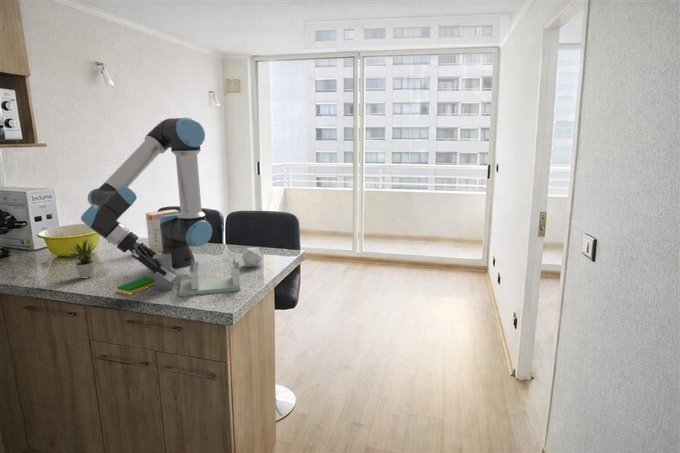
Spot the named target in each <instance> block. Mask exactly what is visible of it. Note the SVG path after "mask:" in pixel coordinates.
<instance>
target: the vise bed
mask: <svg viewBox="0 0 680 453" xmlns="http://www.w3.org/2000/svg"><path fill="white" fill-rule="evenodd" d="M233 257H234V258H233V259H231V260H230V264H231V265H230V267H231V275H227V276H219V277H207V278H200V282H199V289H193V290H192V288H191V279H185V280H181V281H180V286H179V291H178V297H187V296H186V295H189V296H197V295H196V294H199V295H205V294H206V295H207V294H208V293H209V294H216V293H218V294H219V293H226V292H237V291H241V283H240V282H241V280H240V279H241V278H240V265H239V263H240V262H239V258H238V253H233Z"/></svg>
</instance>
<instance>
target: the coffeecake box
mask: <svg viewBox="0 0 680 453" xmlns="http://www.w3.org/2000/svg"><path fill="white" fill-rule="evenodd" d="M177 213H180V210H177V209H166V210H158V211H152V212H146V213H145V221H146V230H147V237H148V248H149V249H151V250H152V251H153V252H155V253H157V252H162V240H161V230H160V218H161V217H162V216H165V215H170V214H177Z"/></svg>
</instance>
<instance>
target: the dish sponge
mask: <svg viewBox="0 0 680 453" xmlns="http://www.w3.org/2000/svg"><path fill="white" fill-rule="evenodd" d="M152 285H154V286H155V281H154V277H149V276H145V277H141V278H139V279H135V280H133V281H131V282H128V283H124V284H122V285H119V286H117V287H116V288H117V289H116V291H117V292H118V291H121V292H126V293H133V292H136V291H138V290H141V289H144V288H146V287H149V286H151V287H153V286H152ZM149 288H150V287H149ZM146 289H147V288H146ZM144 290H145V289H144ZM141 291H142V290H141ZM136 293H137V292H136Z"/></svg>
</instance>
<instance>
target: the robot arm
mask: <svg viewBox="0 0 680 453" xmlns="http://www.w3.org/2000/svg"><path fill="white" fill-rule="evenodd" d="M205 140H206V131H205V130H204V127H203V125H202V124H201V123H200V122H199V121H198V120H196V119H195V118H191V117H176V118H167V119H164V120H161V121H160V122H159V123H158V124H157V125H156V126H154V127H153V128H152V129H151V130H150V131H149V132H148V133H147V134H146V135H145V136H144V141H143V142H142V143H141V144H140V145H139V146H138V148H136V149H135V150H134V152H133V153H132V154H130V156H129V157H128V158H127V159H125V161H124V162H122V164H121V165H120V166H119V167H118V168H117V169H116V170H115V171H114V172H113V173H112V174H111V175H110V176H109V177H108V179H106V180H105V181H104V183H103V184H101V185H100V186H99V187H98V188H94V189H92V190H90V191H89V193H88V195H87V201H88V204H89V205H90V207H88V208H87V209H86V210H85V212H84V213H83V214H82V215H81V217H80V221H81V222H82V223H83V224H84V225H86V226H87V227H88V228H90V229H91V230H93V231H94V232H95V233H97V234H99V236H101V237H102V238H104V239H105V240H107V243H109V244H110V243H111V245H113V246H116V248H117V249H119V250H120V251H121V252H123V253H126V252H127V251H130V252H131V257H132V258H134V259H135V260H137V261H139V262H140V263H141V264H142V265H144V266H145V267H146V268H147V269H149V270H150V271H151V272H153V274H154V273H156V272H157V273H159V274H160V275H161V276H163V277H164V278H165V279H167V280H168V281H170V282H171V281H172V280H173V281H174V279H176V277H177V276H176V274H177V272H178V271H177V270H176V269H178V268H183V267H184V268H185V267H188V266H189V267H190V265H191V260H192V259H195V256H194V254H193V252H192V249H191V247H194V248H195V247H197V248H198V247H203V246H205V245H206V244H207V243H208V242H209V241H210V240H211V238H212V234H213V228H212V225H211V224H210V222H209V221H208V220H207V218H206V213H205V212H204V211H203V210H202V201H201V185H200V173H199V164H198V163H199V161H198V154H199V153H200V152H201V145H203V142H204V141H205ZM169 149H170V152H171V153H172V154H173V155H175V163H176V175H177V176H176V177H177V185H178V197H179V199H178V200H179V205H180V206H179V209H180V210H179V213H177V214H170V215H165V216H162V217H161V218H160V230H161V240H162V251H160V252H161V253H160V254H168V253H171V261H172V271H173V274H172V273H170V272H169V271H168V270H166V269H165V268H164V267H162V266H160V265H158V264H157V263H156V262H155V261H154V260H152V258H153V256H154V255H155V254H157V252H153V251H152V250H151V249H149V246H147V245H146V244H145V243H143V242H141V243H139V242H138V241H137V240H138V239H139V236H138V235H137V234H135V233H134V232H132V231H130V229H129V228H127V227H126V226H124V225H123V224H122V223H120V221H118V219H120V217H121V216H122V215H124V213H125V212H126V211H127V210H128V209H129V208H131V206H133V204H134V203H135V201H136V200H137V199H138V198H137V194H136V193H135V192H134V191H133V190H132V189H131V188H129V187H130V186H131V185H132V183H133V182H134V181H135V180H136V179H137V178H138V177H140V175H141V174H142V173H143V172H144V171H145V170H146V169H147V168H148V167H149V166H150V165H151V164H152V162H154V160H155V159H156V158H157V157H158V156H159V155H161V154H164V153H165V152H166V151H167V150H169Z"/></svg>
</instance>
